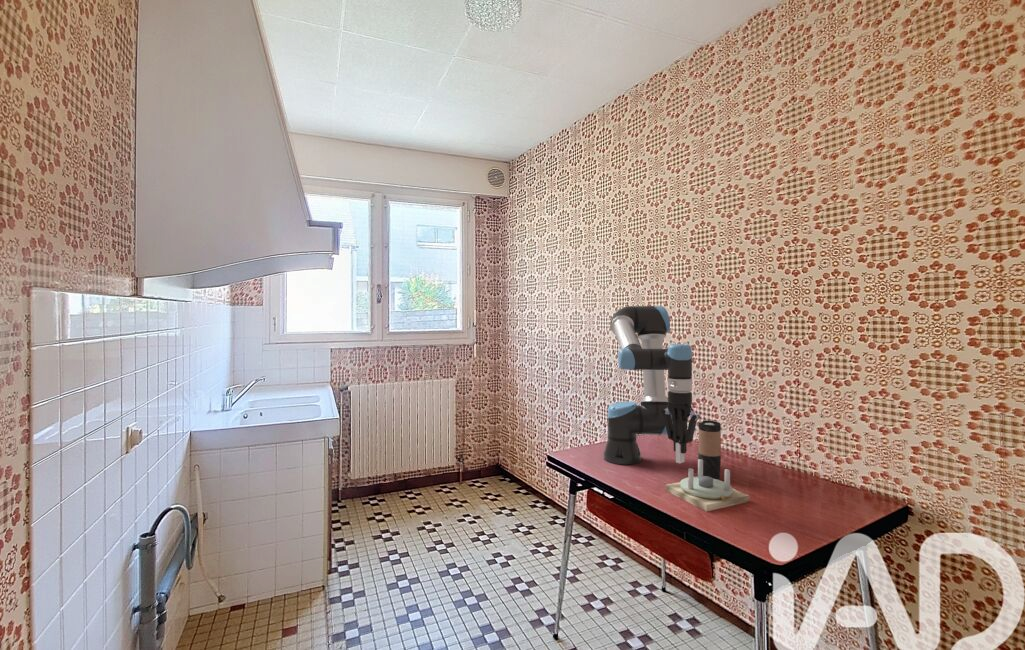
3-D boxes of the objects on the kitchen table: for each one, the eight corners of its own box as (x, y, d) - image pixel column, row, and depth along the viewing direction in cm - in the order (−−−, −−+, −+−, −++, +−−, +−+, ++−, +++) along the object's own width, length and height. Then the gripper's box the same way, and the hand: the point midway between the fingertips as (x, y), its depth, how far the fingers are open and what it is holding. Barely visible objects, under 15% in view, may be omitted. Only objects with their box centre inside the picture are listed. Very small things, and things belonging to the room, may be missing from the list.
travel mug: (723, 480, 165) (723, 425, 164) (700, 479, 166) (700, 424, 166) (718, 473, 172) (718, 420, 172) (696, 472, 174) (696, 420, 173)
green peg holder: (669, 484, 156) (669, 462, 156) (705, 477, 162) (705, 456, 162) (706, 502, 141) (706, 477, 141) (744, 493, 147) (744, 470, 147)
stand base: (665, 490, 156) (665, 481, 156) (705, 482, 163) (705, 473, 163) (707, 511, 140) (707, 501, 139) (749, 501, 146) (749, 492, 146)
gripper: (656, 389, 154) (656, 459, 154) (691, 394, 144) (692, 469, 144) (669, 387, 159) (669, 455, 159) (704, 392, 148) (704, 464, 149)
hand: (680, 462), depth 152 cm, fingers closed
